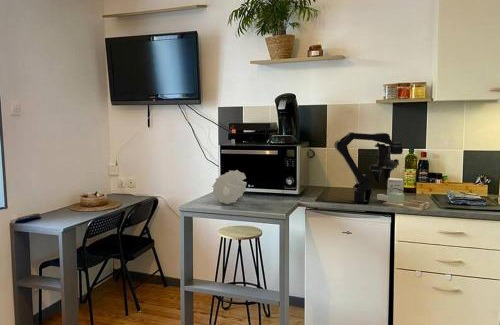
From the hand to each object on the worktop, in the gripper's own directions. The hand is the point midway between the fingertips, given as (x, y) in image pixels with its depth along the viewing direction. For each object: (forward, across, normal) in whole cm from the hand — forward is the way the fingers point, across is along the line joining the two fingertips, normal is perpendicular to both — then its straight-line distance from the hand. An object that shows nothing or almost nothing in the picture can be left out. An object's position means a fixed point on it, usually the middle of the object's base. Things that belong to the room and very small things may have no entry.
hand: (382, 181), depth 226 cm
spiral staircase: (+12, -64, +62) cm, 90 cm away
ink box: (+12, +15, +1) cm, 19 cm away
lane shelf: (+12, 0, -15) cm, 19 cm away
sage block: (+11, 0, -5) cm, 12 cm away
